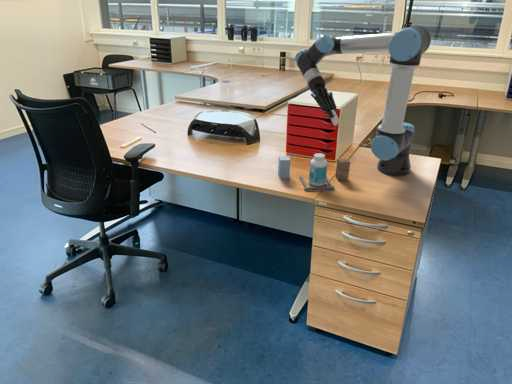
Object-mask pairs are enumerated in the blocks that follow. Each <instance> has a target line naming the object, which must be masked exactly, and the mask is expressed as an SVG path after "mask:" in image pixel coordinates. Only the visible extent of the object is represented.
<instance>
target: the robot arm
mask: <svg viewBox="0 0 512 384" xmlns="http://www.w3.org/2000/svg"><path fill="white" fill-rule="evenodd" d="M431 42H432V37H431V33H430V32H429V30H428V29H427V28H426V27H424V26H422V25H413V26H409V27H403V28H400V29H398V30H397V31H396V32H384V33H372V34H370V33H369V34H358V35H346V36H345V35H344V36H332V37H331V36H330V35H327V34H322V35H321V36H319V37H318V38H317V39H316V40H315V42H313V44H312V45H311V46H310V47H309V48H308V49H301V50H300V51H298V52H296V54H295V56H294V61H295V63H296V66H297V67H298V69H299V70H300V73H301V75H302V77H303V79H304V81H305V83H306V84H307V86H308V88H309V91H310V92H311V94H310V96H311V98H312V99H314V101H315V102H316V104H317V106H318V107H320V109H321V110H322V112H323V113H324V114H325V115H328V117H329V119H330V121H331V122H332V124H333V126H335V127H336V126H338V125H339V124H340V123H341V121H340V119H339V116H338V114H337V113H336V110H337V109H338V108H337V105H336V102H335V99H334V96H333V92H332V91H328V89H327V88H326V81H325V79H324V77H323V75H322V73H321V71H320V69H319V67H318V66H317V65H318V64H319V63H320V62H321V61H322V60H323V59H324V58H325V57H329V56H333V55H344V54H345V55H346V54H361V53H362V54H363V53H364V54H365V53H366V54H367V53H380V52H381V53H383V52H385V53H386V52H388V53H389V55H390V56H389V64H390V65H391V67H392V68H391V73H390V77H389V84H388V89H387V94H386V99H385V105H384V110H383V117H382V120H381V123H380V124H378V126H377V128H376V129H377V130H376V133H375V137H373V139H372V141H371V143H370V150H371V153H372V154H373V155H374V157H375V158H377V159H378V162H377V166H376V169H377V170H378V171H380V172H381V173H382V174H386V175H390V176H398V177H401V176H406V175H409V174H410V173H411V168H412V167H411V166H412V165H411V161H410V154H411V153H410V152H411V148H412V143H413V139H414V133H415V126H414V125H413V124H411V123H408V122H406V121H404V120H405V117H406V116H405V115H406V112H407V107H408V102H409V98H410V92H411V88H412V83H413V80H414V79H413V78H414V74H415V69H416V68H418V67H419V66H420V63H421V59H422V56H423V54H424V53H425V52H426V51H427V50H428V49H429V48H430V45H431Z"/></svg>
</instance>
